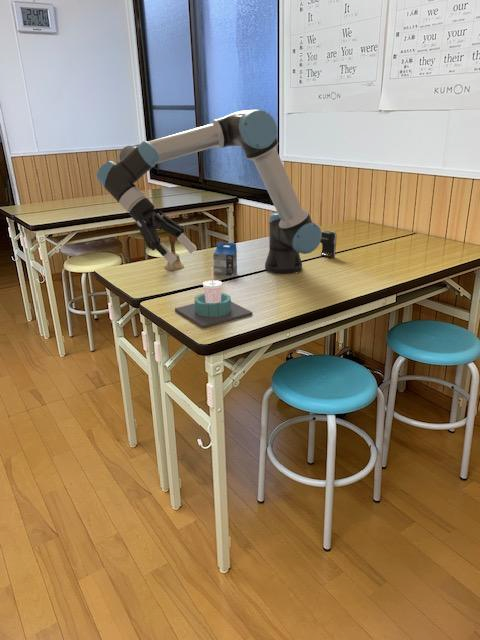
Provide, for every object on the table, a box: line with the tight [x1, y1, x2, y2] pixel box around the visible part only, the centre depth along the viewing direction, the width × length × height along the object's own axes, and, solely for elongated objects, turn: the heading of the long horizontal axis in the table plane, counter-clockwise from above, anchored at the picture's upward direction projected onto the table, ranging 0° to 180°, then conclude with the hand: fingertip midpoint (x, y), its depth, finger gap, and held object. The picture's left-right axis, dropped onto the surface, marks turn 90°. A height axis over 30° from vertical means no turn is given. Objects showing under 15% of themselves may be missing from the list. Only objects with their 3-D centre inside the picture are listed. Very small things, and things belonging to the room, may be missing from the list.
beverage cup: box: [202, 266, 223, 303], centre depth 154 cm, size 6×6×14 cm
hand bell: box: [164, 233, 185, 271], centre depth 204 cm, size 8×8×16 cm
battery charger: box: [320, 230, 337, 258], centre depth 215 cm, size 7×4×11 cm, turn 38°
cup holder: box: [174, 292, 253, 329], centre depth 156 cm, size 18×18×5 cm
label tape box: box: [212, 241, 238, 276], centre depth 195 cm, size 9×4×12 cm, turn 68°
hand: (184, 256), depth 153 cm, fingers open, 13 cm apart
